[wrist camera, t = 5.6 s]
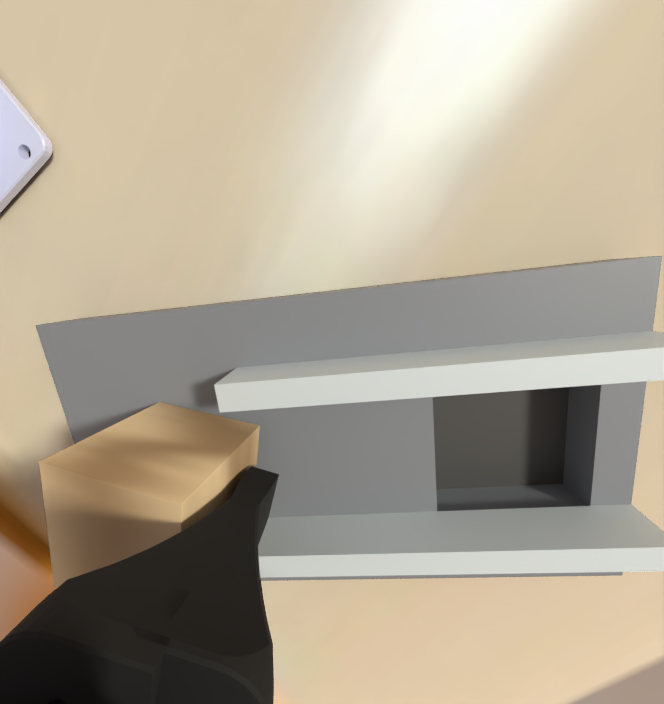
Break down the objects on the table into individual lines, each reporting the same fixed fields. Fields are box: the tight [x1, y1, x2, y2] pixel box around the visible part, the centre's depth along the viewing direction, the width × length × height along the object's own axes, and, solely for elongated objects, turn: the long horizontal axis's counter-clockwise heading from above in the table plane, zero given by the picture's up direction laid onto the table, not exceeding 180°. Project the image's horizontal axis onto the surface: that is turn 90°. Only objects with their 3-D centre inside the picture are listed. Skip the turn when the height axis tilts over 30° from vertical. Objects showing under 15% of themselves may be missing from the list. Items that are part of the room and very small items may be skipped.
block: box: [39, 402, 260, 588], centre depth 11 cm, size 4×4×4 cm
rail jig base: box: [36, 256, 664, 581], centre depth 13 cm, size 23×13×4 cm, turn 96°
